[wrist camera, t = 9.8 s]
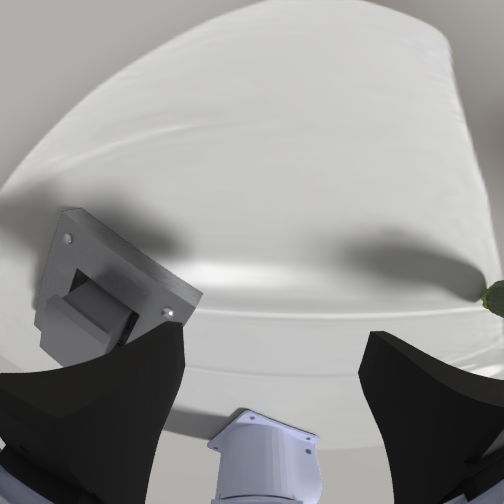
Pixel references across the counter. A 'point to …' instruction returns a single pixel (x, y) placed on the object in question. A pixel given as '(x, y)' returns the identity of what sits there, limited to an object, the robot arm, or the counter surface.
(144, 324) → the socket plate
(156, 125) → the counter surface
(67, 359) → the plug
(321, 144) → the counter surface
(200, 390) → the counter surface
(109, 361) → the robot arm
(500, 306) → the vegetable
